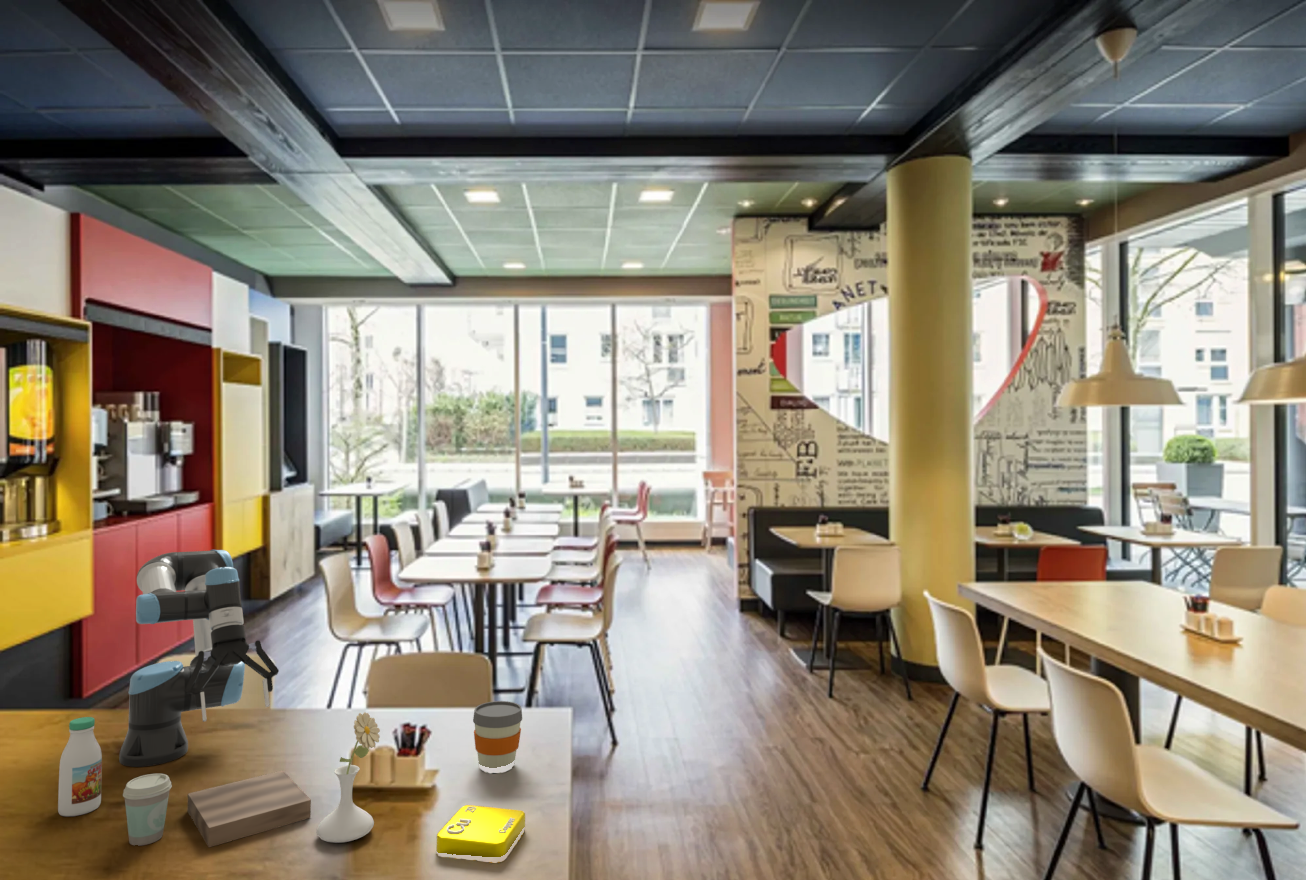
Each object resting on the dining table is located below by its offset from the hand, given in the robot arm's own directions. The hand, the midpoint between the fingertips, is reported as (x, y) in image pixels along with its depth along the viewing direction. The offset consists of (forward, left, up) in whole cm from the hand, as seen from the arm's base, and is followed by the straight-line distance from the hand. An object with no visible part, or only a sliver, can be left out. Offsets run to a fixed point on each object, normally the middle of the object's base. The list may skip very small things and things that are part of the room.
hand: (236, 713), depth 189 cm
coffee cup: (+18, -21, -17) cm, 32 cm away
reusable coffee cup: (+31, +54, -17) cm, 65 cm away
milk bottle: (-6, -30, -17) cm, 35 cm away
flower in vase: (+42, +12, -17) cm, 47 cm away
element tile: (+63, +32, -17) cm, 72 cm away
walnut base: (+20, -2, -17) cm, 26 cm away
